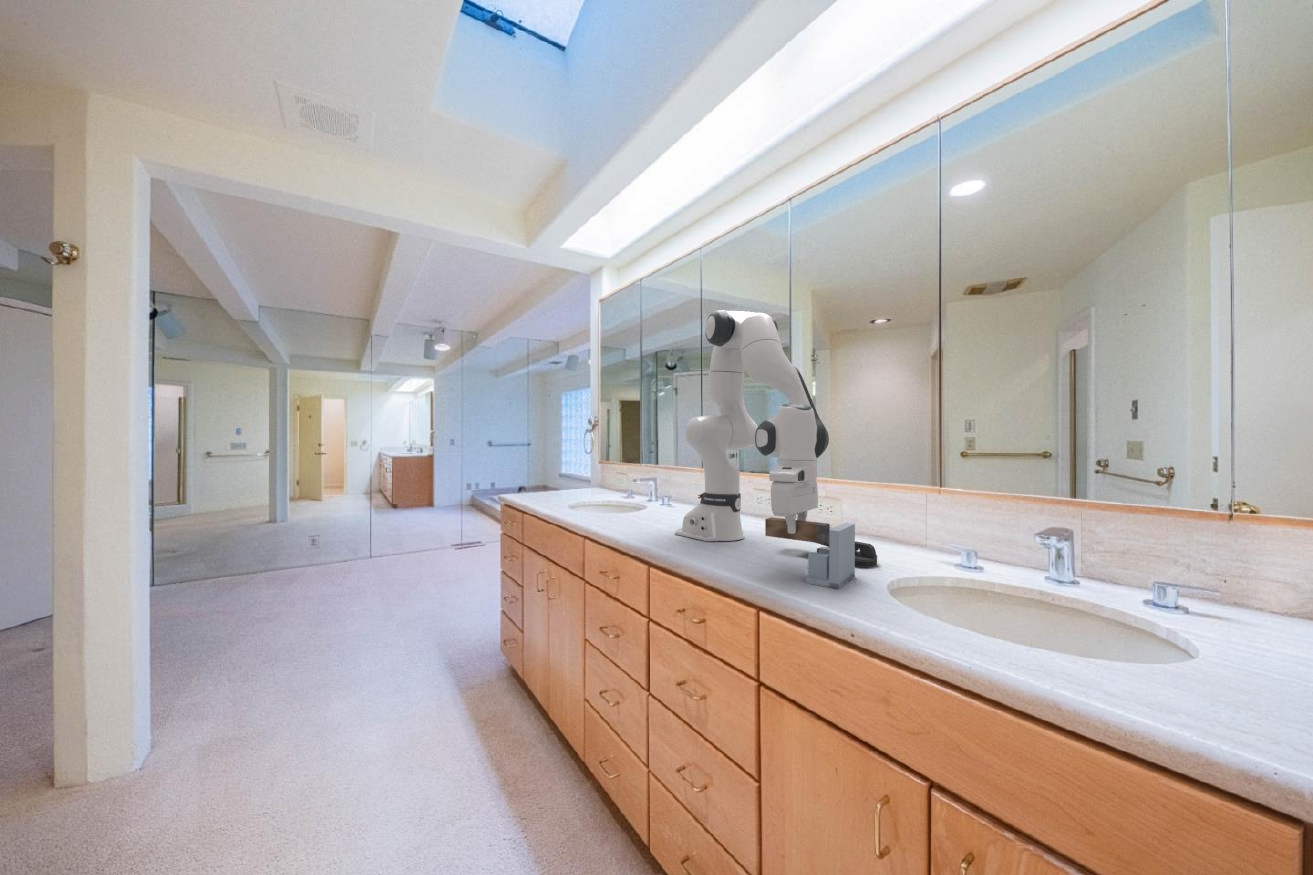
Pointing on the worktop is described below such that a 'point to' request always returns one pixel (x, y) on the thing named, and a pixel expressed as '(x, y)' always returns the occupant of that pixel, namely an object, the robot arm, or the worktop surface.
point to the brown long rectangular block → (798, 530)
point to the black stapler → (862, 555)
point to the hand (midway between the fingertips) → (796, 531)
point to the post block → (834, 559)
